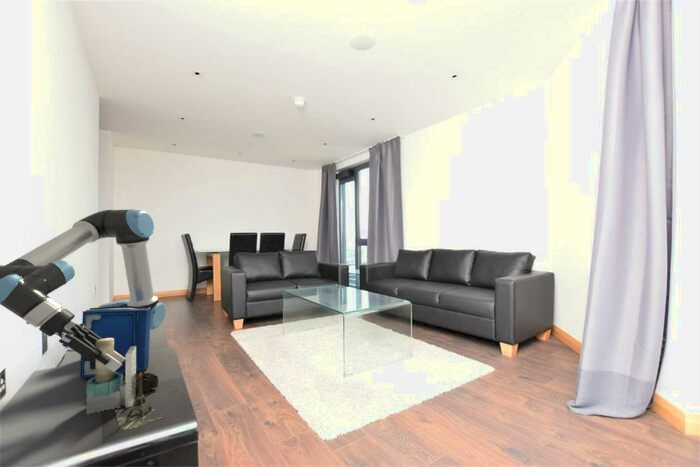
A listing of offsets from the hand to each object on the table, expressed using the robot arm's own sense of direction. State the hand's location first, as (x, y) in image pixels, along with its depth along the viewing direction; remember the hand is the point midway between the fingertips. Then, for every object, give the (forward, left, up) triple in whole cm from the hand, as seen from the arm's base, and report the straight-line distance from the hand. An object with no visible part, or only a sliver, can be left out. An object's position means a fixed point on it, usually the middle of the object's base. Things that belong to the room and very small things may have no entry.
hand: (120, 365), depth 97 cm
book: (-28, -6, -12) cm, 31 cm away
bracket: (0, -2, -12) cm, 12 cm away
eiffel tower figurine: (+10, +6, -13) cm, 17 cm away
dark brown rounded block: (-8, +1, -12) cm, 15 cm away
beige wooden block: (0, -4, -4) cm, 5 cm away
